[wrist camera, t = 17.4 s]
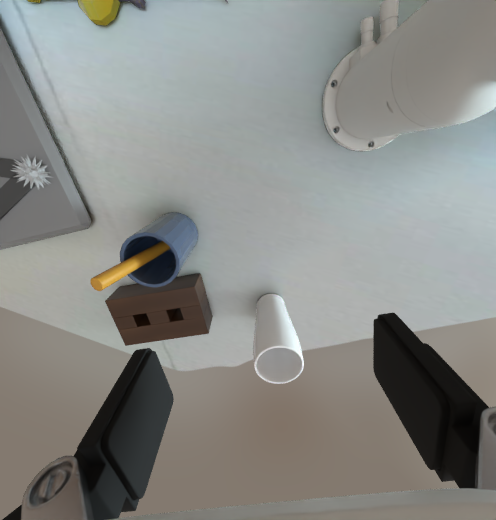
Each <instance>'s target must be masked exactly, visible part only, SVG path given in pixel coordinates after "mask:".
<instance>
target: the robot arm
mask: <svg viewBox="0 0 496 520" xmlns="http://www.w3.org/2000/svg"><path fill="white" fill-rule="evenodd" d="M398 7H399V0H384V1H383V2H382V3H381V4H380V37H379V38H378V39H377V42H375V41H373V17H367V18H365V19H363V20H362V21H361V22H360V23H361V45H360V46H359V47H358V48H356V49H355V50H353V51H352V52H350V53H349V54H348V55H347V56H346V57H345V58H343V59H342V60H341V62H340V63H339V64H338V65H337V66H336V68H335V69H334V71H333V72H332V74H331V75H330V77H329V80H328V82H327V84H326V87H325V91H324V95H323V102H322V112H323V119H324V123H325V126H326V128H327V130H328V133H329V134H330V135H331V137H332V138H333V139H334V140H335V141H336V142H337V143H338V144H339V145H341V146H343V147H345V148H346V149H350V150H353V151H370V150H374V149H378V148H380V147H382V146H384V145H386V144H388V143H389V142H391V141H392V140H394V139H395V138H396V137H397V136H398V135H399V134H404V133H410V132H417V131H423V130H430V129H436V128H442V127H447V126H453V125H458V124H462V123H466V122H469V121H471V120H474V119H476V118H479V117H481V116H483V115H485V114H486V113H488V112H490V111H491V110H493V109H494V108H496V0H428V1H427V2H426V3H425V4H424V5H423V6H421V7H420V8H419V9H418V10H417V11H416V12H415V13H414V14H412V15H411V16H410V17H409V18H408V19H407V20H406V21H404V22H403V23H402V24H401V25H400V26H399V27H398V28H397V18H398ZM331 83H333V84H334V87H332V86H331ZM334 128H335V129H336V132H334V131H333V129H334ZM368 143H370V146H368ZM374 373H375V376H376V378H377V380H378V382H379V383H380V385H381V387H382V388H383V390H384V392H385V394H386V396H387V397H388V399H389V401H390V403H391V404H392V406H393V408H394V409H395V411H396V413H397V415H398V416H399V418H400V420H401V422H402V423H403V425H404V427H405V428H406V430H407V432H408V434H409V436H410V437H411V439H412V441H413V443H414V444H415V446H416V448H417V450H418V451H419V453H420V455H421V456H422V458H423V460H424V461H425V464H426V465H427V467H428V468H429V469H430V470H435V471H436V473H437V475H438V476H439V478H440V479H441V481H442V482H443V481H453V480H455V482H456V483H457V485H458V487H459V488H460V489H430V490H416V491H401V492H386V493H375V494H364V495H353V496H341V497H329V498H318V499H306V500H297V501H296V500H295V501H284V502H274V503H263V504H253V505H242V506H231V507H221V508H210V509H201V510H190V511H180V512H170V513H162V514H161V513H160V514H151V515H142V516H134V517H126V518H119V515H120V513H121V512H127V511H135V510H136V508H137V505H138V501H139V499H141V498H142V497H143V496H144V493H145V491H146V488H147V485H148V481H149V478H150V475H151V472H152V469H153V465H154V462H155V459H156V455H157V453H158V449H159V446H160V443H161V440H162V437H163V433H164V430H165V427H166V424H167V421H168V418H169V414H170V411H171V408H172V405H173V394H172V391H171V389H170V387H169V384H168V381H167V379H166V376H165V374H164V372H163V369H162V367H161V364H160V362H159V359H158V357H157V354H156V352H155V351H152V350H151V349H150V348H147V349H140V350H136V351H135V352H134V353H133V355H132V357H131V358H130V360H129V362H128V363H127V365H126V367H125V368H124V370H123V372H122V373H121V375H120V377H119V378H118V380H117V382H116V383H115V385H114V387H113V388H112V390H111V392H110V394H109V395H108V397H107V399H106V400H105V402H104V404H103V405H102V407H101V409H100V410H99V412H98V414H97V415H96V417H95V419H94V420H93V422H92V424H91V426H90V427H89V429H88V430H87V432H86V434H85V436H84V437H83V439H82V441H81V442H80V444H79V446H78V448H77V449H78V450H77V451H76V453H75V455H74V456H64V457H61V458H58V459H56V460H55V461H53V462H51V463H50V464H48V465H47V466H46V467H45V468H43V469H42V470H41V471H40V472H39V473H38V474H37V475H36V476H35V478H34V479H33V480H32V482H31V483H30V484H29V486H28V487H27V489H26V491H25V494H24V496H23V500H22V505H20V506H19V507H18V508H17V509H15V510H14V511H13V512H12V513H10V514H9V515H8V516H7V517H5V518H4V519H3V520H496V407H491V408H489V407H488V406H487V405H486V404H485V403H484V402H483V401H482V400H481V399H480V397H479V396H478V395H477V394H476V393H475V392H474V391H473V390H472V389H471V388H470V387H469V386H468V385H467V384H466V383H465V382H464V381H463V380H462V379H461V378H460V377H459V376H458V375H457V373H456V372H455V371H454V370H452V368H451V367H450V366H449V365H448V364H447V363H446V362H445V361H444V360H443V359H442V358H441V357H440V356H439V355H438V354H437V353H436V351H435V350H434V349H433V348H432V347H431V346H429V345H428V344H425V343H424V344H423V343H422V342H421V341H420V340H419V338H418V337H417V336H416V335H415V334H414V333H413V332H412V331H411V330H410V329H409V328H408V327H407V326H406V324H405V323H404V322H403V321H402V320H401V319H400V318H399V317H398V316H397V315H396V314H395V313H388V314H381V315H378V319H374Z"/></svg>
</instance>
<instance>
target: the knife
mask: <svg viewBox="0 0 496 520" xmlns="http://www.w3.org/2000/svg"><path fill="white" fill-rule="evenodd" d="M27 1H29V2H36V3H40V1H41V0H27ZM122 1H130V2H132V3H133V4H134V5H136V6H137V7H139V8H143V9H144V7H145V4H146V2H145V0H78V4H79V7H80V8H81V9H82V10H83V12H84V13H85V14H86V15H87V16H88V17H89V19H90V20H91V21H93V22H94V23H95V24H96V25H104V26H107V25H108V24H109V23H110V22H111V21H113V20H114V19H115V18H116V15H117V12H118V9H119V6H120V2H122ZM225 1H226V2H227V0H225ZM227 3H228V2H227Z"/></svg>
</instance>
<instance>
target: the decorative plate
mask: <svg viewBox="0 0 496 520" xmlns="http://www.w3.org/2000/svg"><path fill="white" fill-rule="evenodd" d="M90 224H91V219H90V217H89V214H88V212H87V210H86V208H85V206H84V204H83V202H82V200H81V197H80V195H79V193H78V191H77V189H76V187H75V185H74V183H73V180H72V178H71V176H70V174H69V172H68V170H67V168H66V166H65V163H64V161H63V159H62V157H61V155H60V153H59V151H58V149H57V146H56V144H55V142H54V140H53V138H52V136H51V134H50V132H49V129H48V127H47V125H46V123H45V121H44V119H43V117H42V115H41V113H40V110H39V108H38V106H37V104H36V102H35V100H34V98H33V96H32V93H31V91H30V89H29V87H28V85H27V83H26V81H25V79H24V76H23V74H22V72H21V70H20V68H19V66H18V64H17V62H16V59H15V57H14V55H13V53H12V51H11V49H10V47H9V45H8V42H7V40H6V38H5V36H4V34H3V32H2V30H1V28H0V250H1V249H5V248H9V247H13V246H17V245H22V244H26V243H30V242H34V241H38V240H42V239H47V238H51V237H55V236H59V235H63V234H68V233H72V232H76V231H80V230H84V229H88V228H89V226H90Z"/></svg>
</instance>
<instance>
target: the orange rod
mask: <svg viewBox="0 0 496 520" xmlns="http://www.w3.org/2000/svg"><path fill="white" fill-rule="evenodd" d="M169 249H171V248H170V247H169V246H168V245H167V244H166V243H165V242H163V241H161V242H159V243H157V244H155V245H153V246H152V247H150V248H148V249H146V250H144V251H142V252H140V253H138V254H136V255H135V256H133V257H131V258H129V259H127V260H125V261H123V262H121V263H120V264H118V265H116V266H114V267H112V268H110V269H108V270H106V271H105V272H103V273H101V274H99V275H97V276H95V277H93V278H92V279H91V285H92V287H93V288H94V289H95V290H97V291H101V290H103V289H105V288H106V287H108V286H110V285H111V284H113V283H115V282H116V281H118V280H120V279H121V278H123V277H125V276H126V275H128V274H130V273H131V272H133V271H134V270H136V269H138V268H139V267H141V266H143V265H144V264H146V263H148V262H149V261H151V260H153V259H154V258H156V257H158V256H159V255H161V254H163V253H164V252H166V251H168V250H169Z"/></svg>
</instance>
